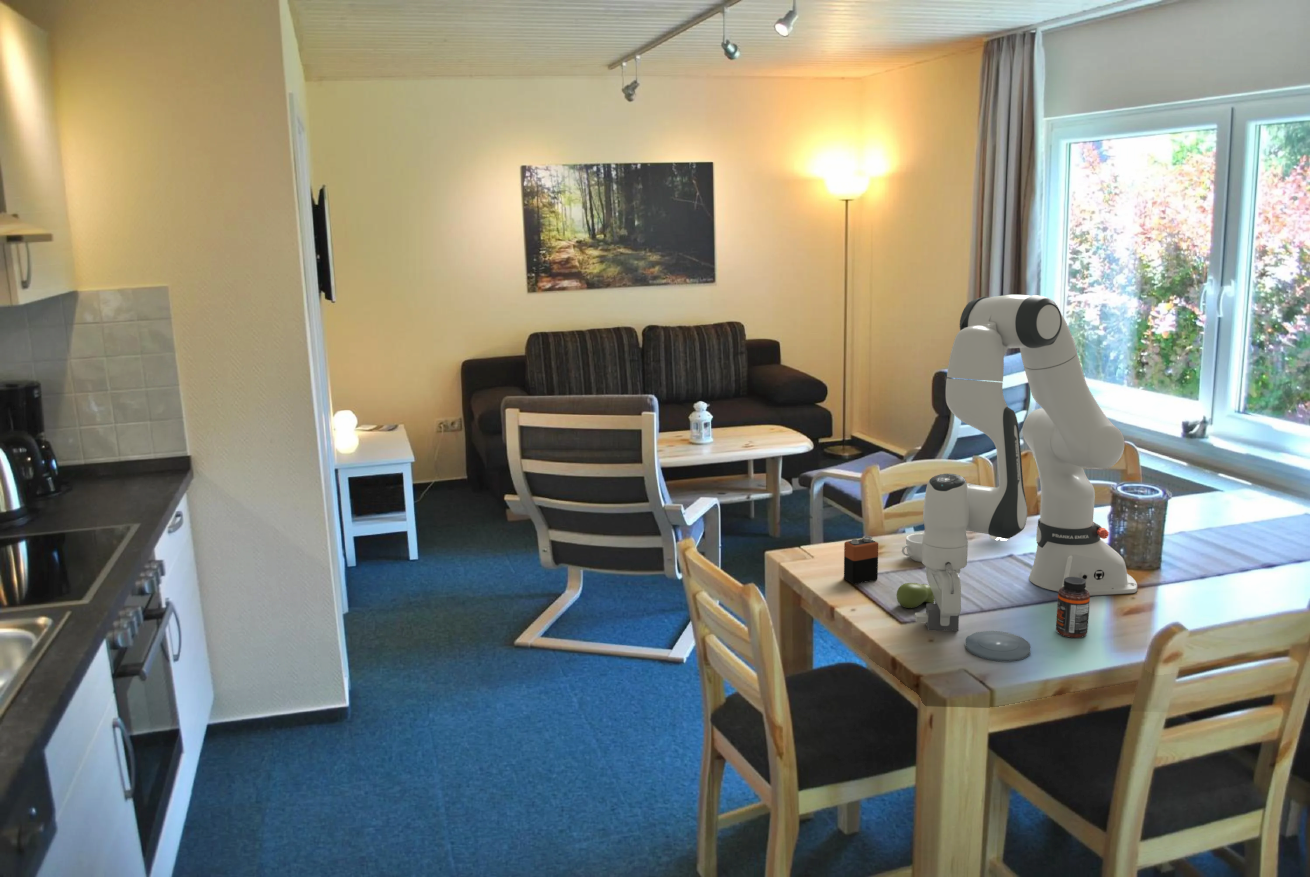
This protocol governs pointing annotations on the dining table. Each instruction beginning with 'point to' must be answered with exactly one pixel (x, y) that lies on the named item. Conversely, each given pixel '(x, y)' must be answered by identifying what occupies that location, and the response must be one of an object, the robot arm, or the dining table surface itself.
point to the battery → (861, 560)
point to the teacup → (914, 546)
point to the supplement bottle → (1073, 608)
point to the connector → (936, 619)
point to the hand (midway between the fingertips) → (942, 619)
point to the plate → (998, 646)
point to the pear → (914, 594)
